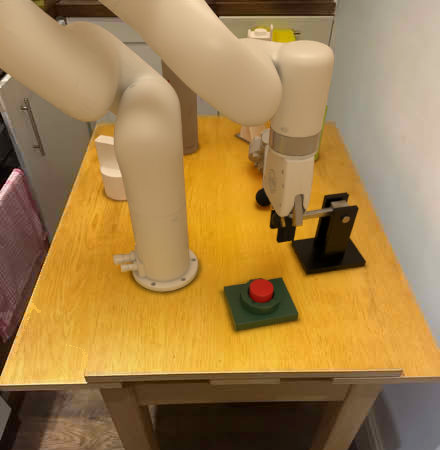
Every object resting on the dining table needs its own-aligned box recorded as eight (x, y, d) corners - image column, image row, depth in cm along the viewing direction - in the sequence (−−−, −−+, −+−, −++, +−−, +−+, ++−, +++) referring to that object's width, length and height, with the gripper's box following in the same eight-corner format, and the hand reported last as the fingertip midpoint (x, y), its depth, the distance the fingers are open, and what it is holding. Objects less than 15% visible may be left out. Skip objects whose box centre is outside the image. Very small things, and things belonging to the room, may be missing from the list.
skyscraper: (274, 139, 114) (287, 22, 93) (253, 148, 110) (262, 29, 90) (253, 128, 118) (261, 14, 97) (232, 137, 115) (236, 21, 94)
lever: (274, 233, 72) (275, 219, 69) (268, 222, 74) (269, 208, 72) (348, 221, 74) (352, 206, 71) (341, 210, 76) (344, 196, 73)
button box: (235, 331, 68) (236, 318, 66) (223, 292, 74) (223, 279, 72) (297, 320, 70) (300, 306, 68) (280, 283, 76) (283, 269, 73)
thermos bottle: (172, 156, 107) (162, 34, 86) (166, 142, 112) (155, 24, 91) (201, 152, 109) (198, 31, 88) (194, 138, 114) (189, 21, 93)
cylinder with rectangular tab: (97, 195, 95) (85, 147, 86) (116, 176, 100) (107, 128, 92) (132, 203, 93) (124, 154, 84) (149, 182, 99) (143, 135, 90)
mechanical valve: (291, 150, 104) (292, 123, 89) (286, 220, 103) (287, 204, 88) (250, 150, 105) (245, 124, 90) (246, 218, 105) (240, 203, 90)
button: (252, 304, 68) (253, 297, 67) (246, 287, 71) (247, 280, 70) (275, 300, 69) (276, 293, 68) (268, 284, 72) (269, 277, 70)
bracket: (306, 275, 78) (319, 221, 68) (290, 245, 83) (300, 191, 74) (364, 266, 79) (384, 212, 70) (345, 237, 85) (361, 183, 76)
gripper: (254, 116, 66) (249, 210, 79) (288, 169, 55) (275, 267, 69) (298, 112, 67) (286, 205, 80) (340, 163, 56) (317, 260, 70)
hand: (281, 233), depth 74 cm, fingers closed on lever, 3 cm apart
